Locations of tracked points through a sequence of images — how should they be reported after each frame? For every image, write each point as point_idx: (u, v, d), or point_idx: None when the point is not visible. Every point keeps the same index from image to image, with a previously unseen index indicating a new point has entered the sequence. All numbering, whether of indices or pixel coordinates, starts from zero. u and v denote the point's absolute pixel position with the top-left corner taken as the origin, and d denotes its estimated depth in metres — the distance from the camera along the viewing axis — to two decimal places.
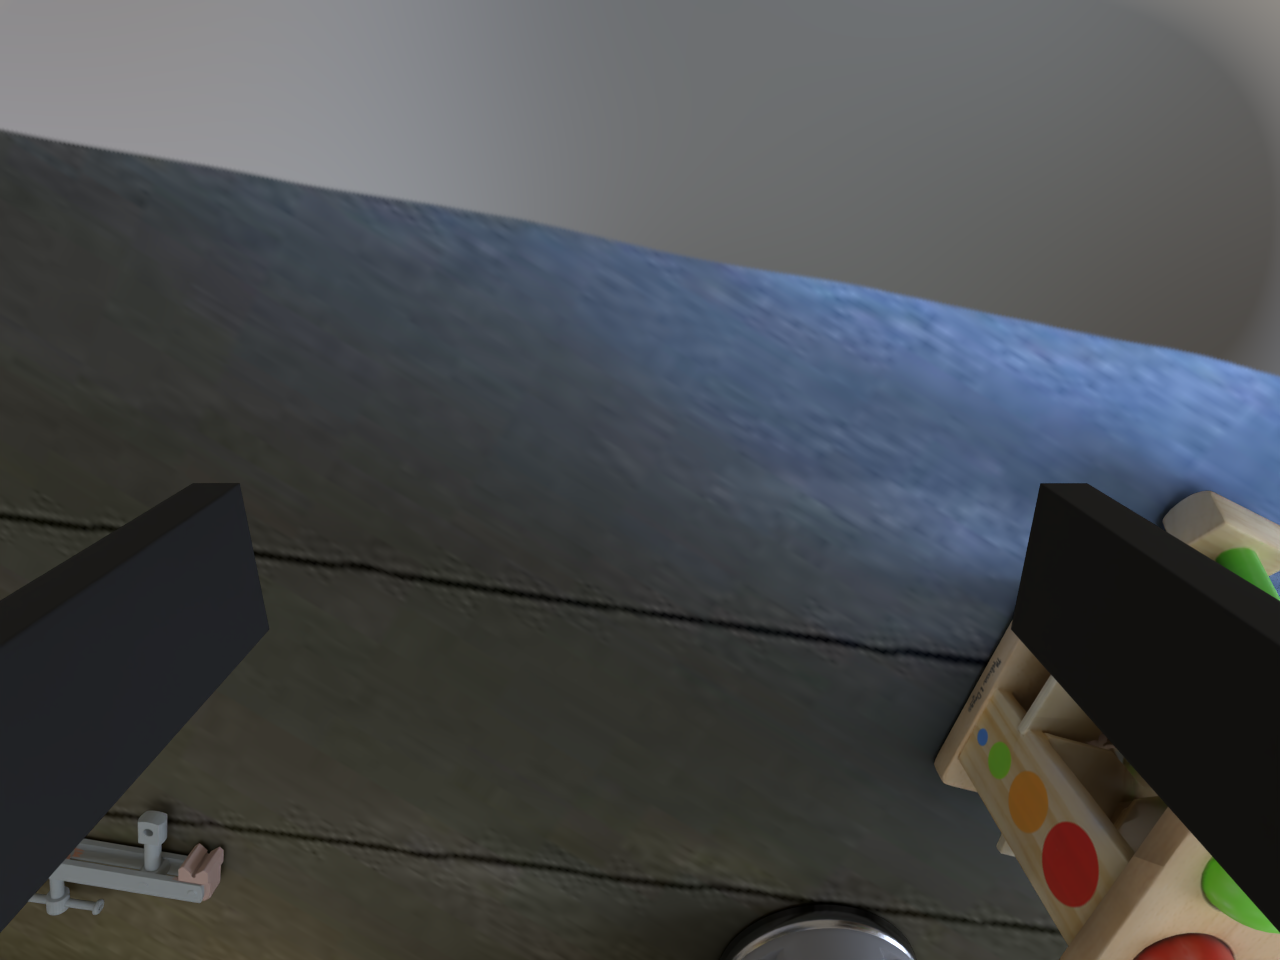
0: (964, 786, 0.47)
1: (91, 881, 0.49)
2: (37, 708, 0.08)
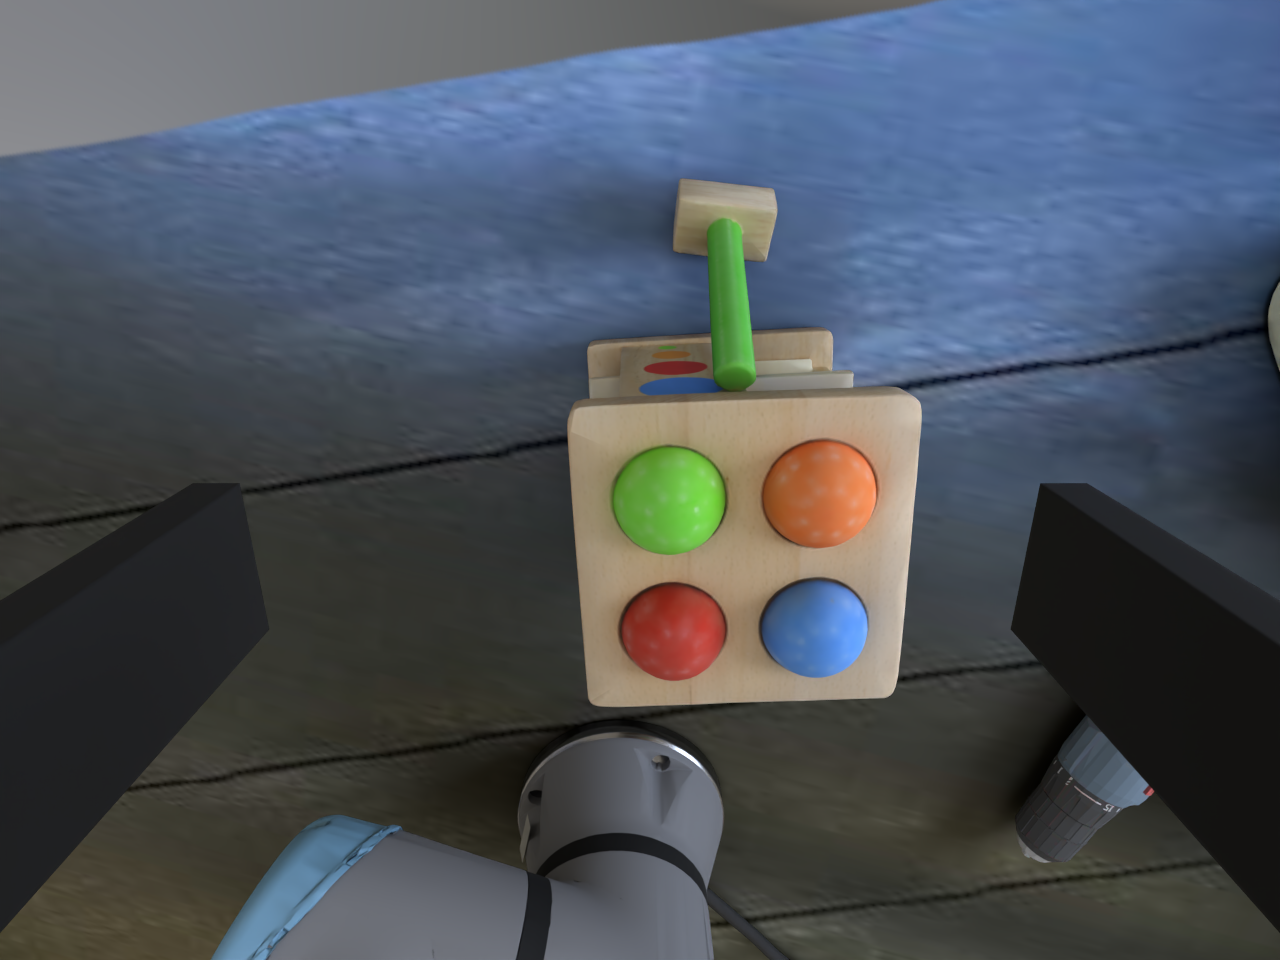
0: None
1: None
2: (37, 708, 0.08)
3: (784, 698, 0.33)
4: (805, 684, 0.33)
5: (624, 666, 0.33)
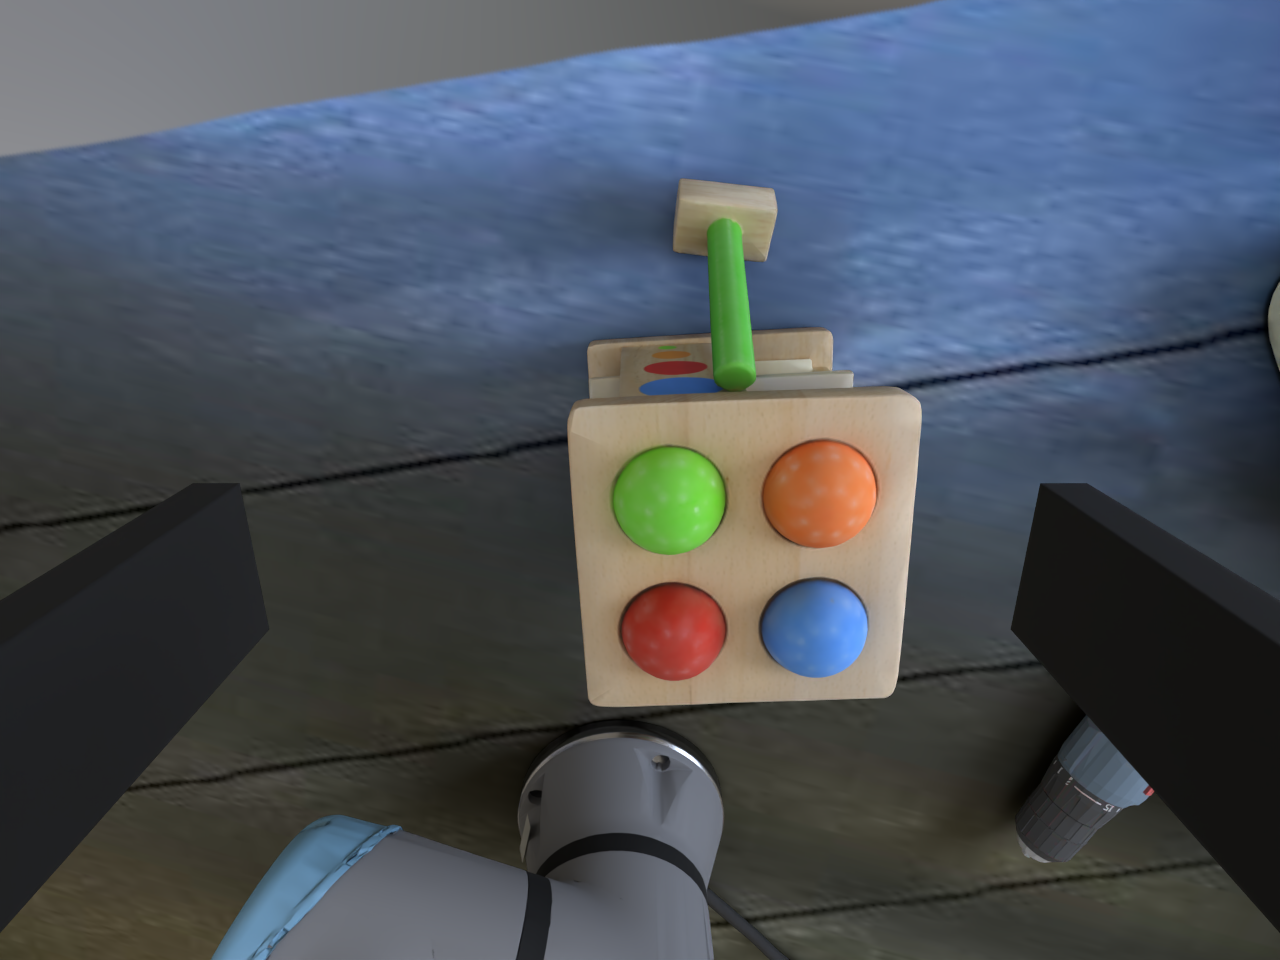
0: None
1: None
2: (37, 708, 0.08)
3: (784, 698, 0.33)
4: (805, 684, 0.33)
5: (624, 666, 0.33)
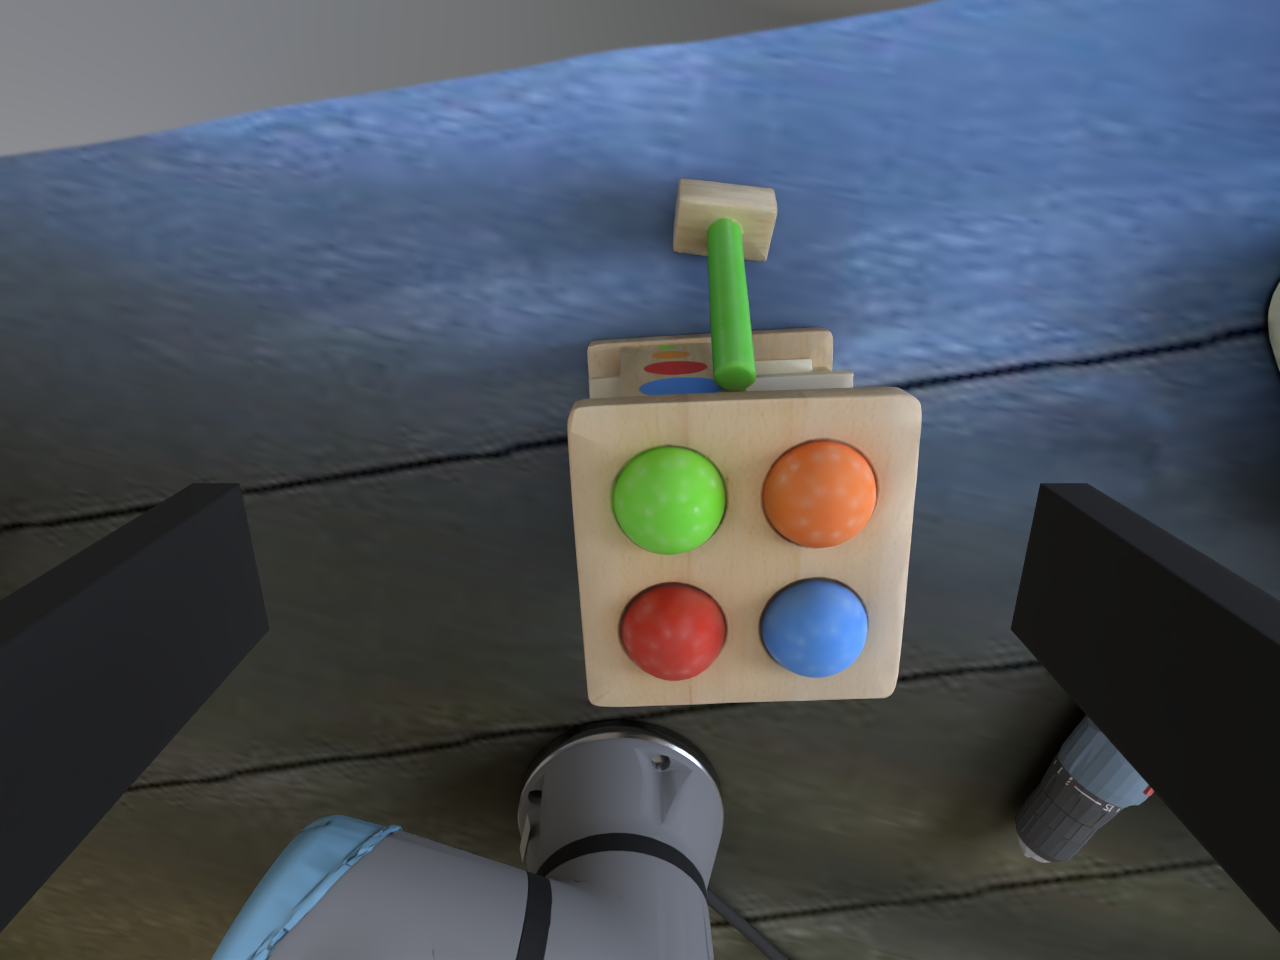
0: None
1: None
2: (37, 708, 0.08)
3: (784, 698, 0.33)
4: (805, 684, 0.33)
5: (624, 666, 0.33)
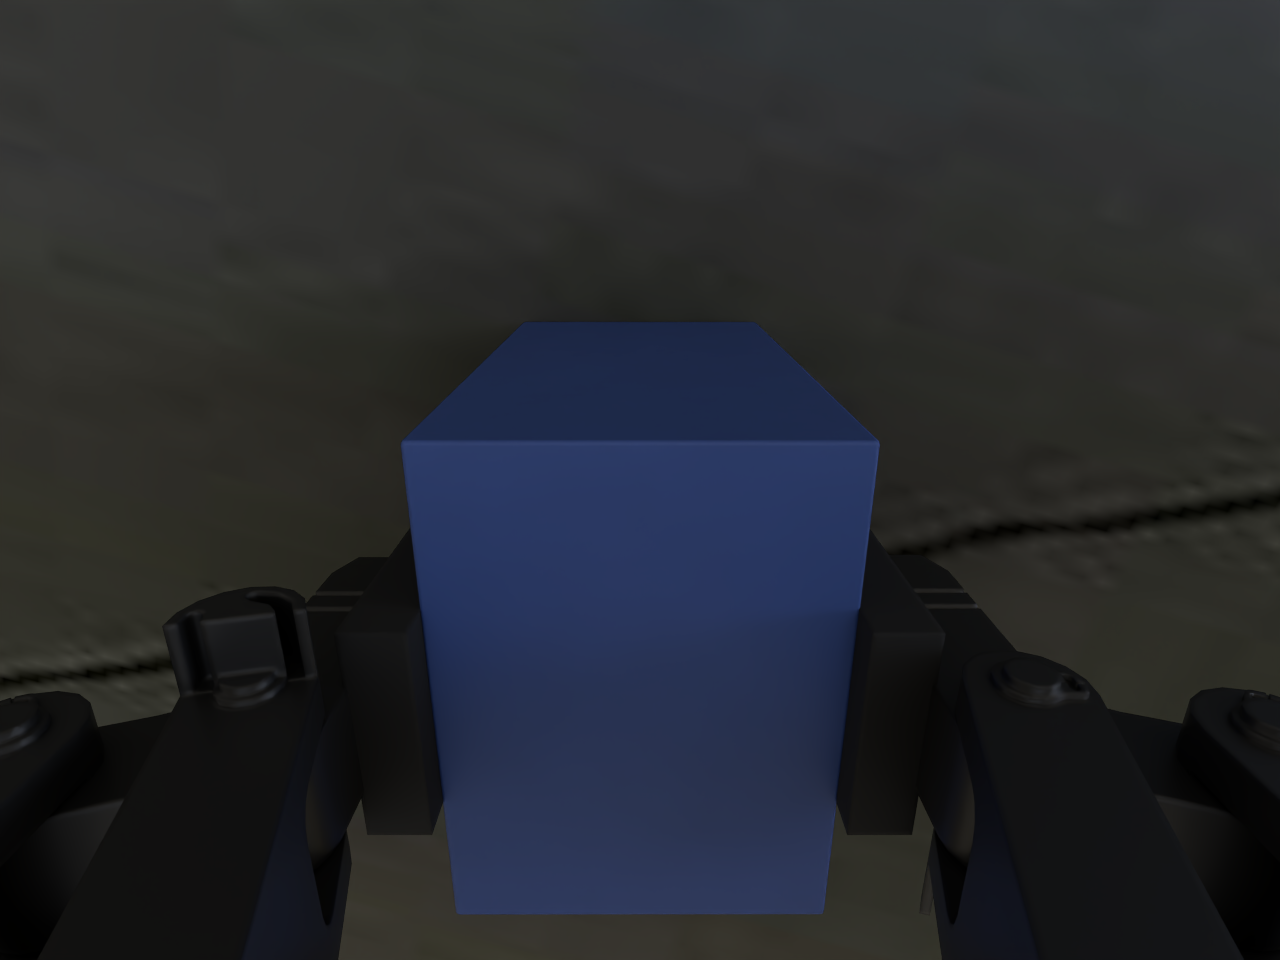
0: None
1: None
2: None
3: None
4: None
5: None
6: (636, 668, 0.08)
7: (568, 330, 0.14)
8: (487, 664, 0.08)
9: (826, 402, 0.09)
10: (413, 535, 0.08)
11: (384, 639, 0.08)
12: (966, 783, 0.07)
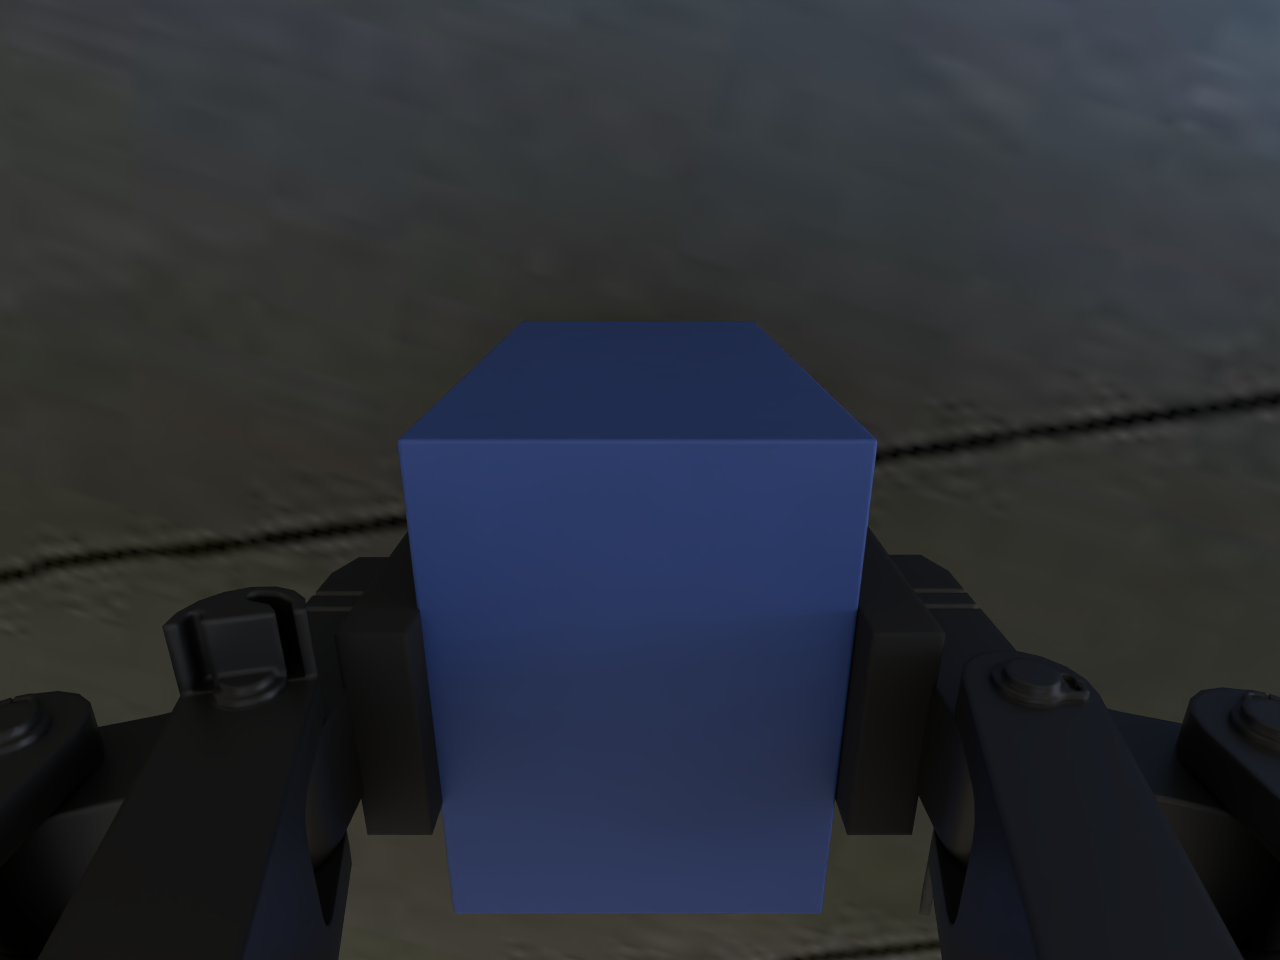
0: None
1: None
2: None
3: None
4: None
5: None
6: (633, 666, 0.08)
7: (566, 329, 0.14)
8: (485, 664, 0.08)
9: (824, 401, 0.09)
10: (410, 535, 0.08)
11: (384, 639, 0.08)
12: (966, 783, 0.07)
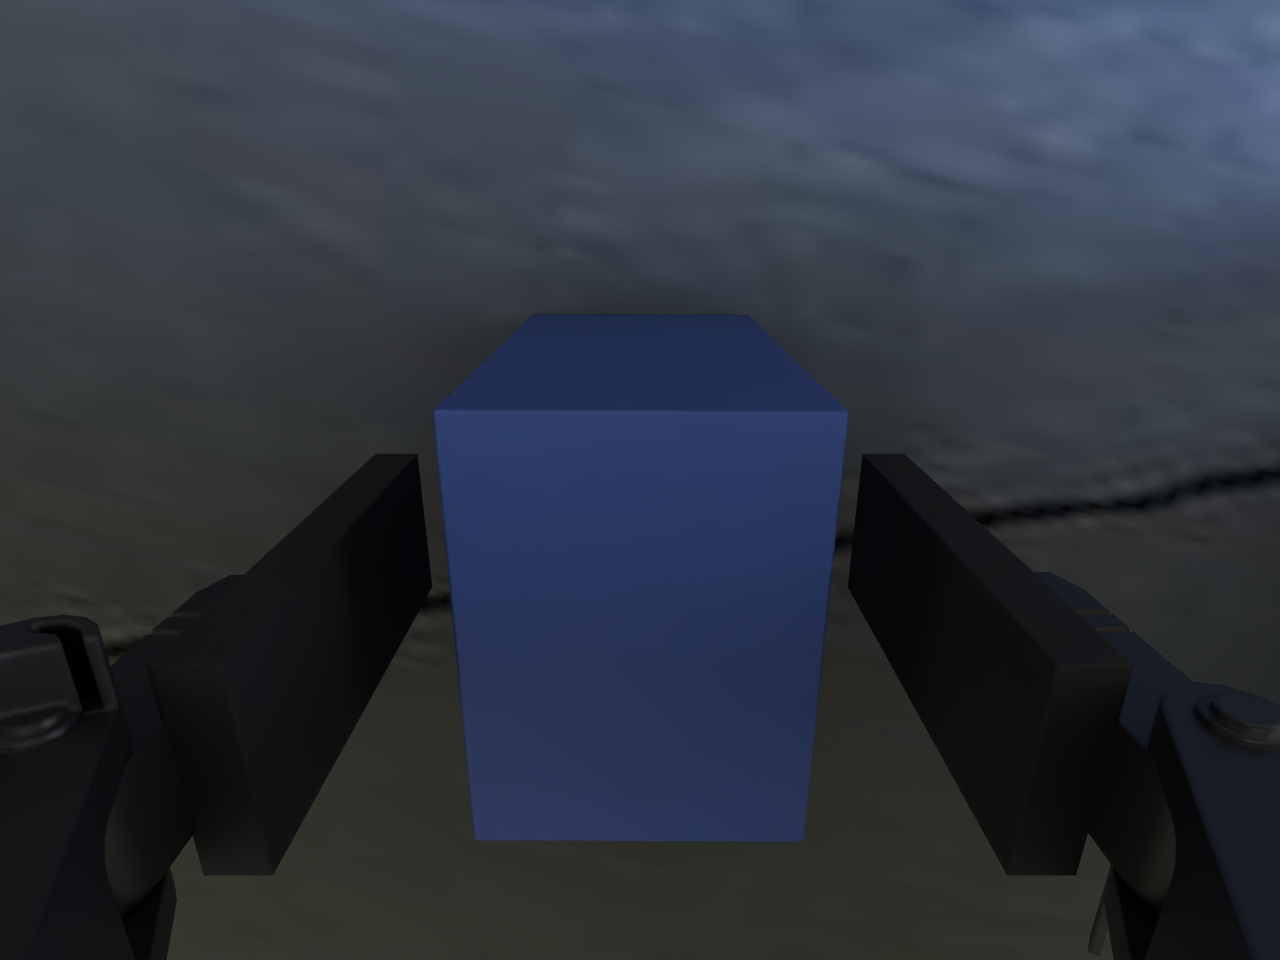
0: None
1: None
2: (321, 631, 0.09)
3: None
4: None
5: None
6: (636, 613, 0.09)
7: (574, 321, 0.15)
8: (506, 609, 0.09)
9: (806, 381, 0.10)
10: (441, 493, 0.09)
11: (202, 670, 0.07)
12: (1158, 820, 0.07)
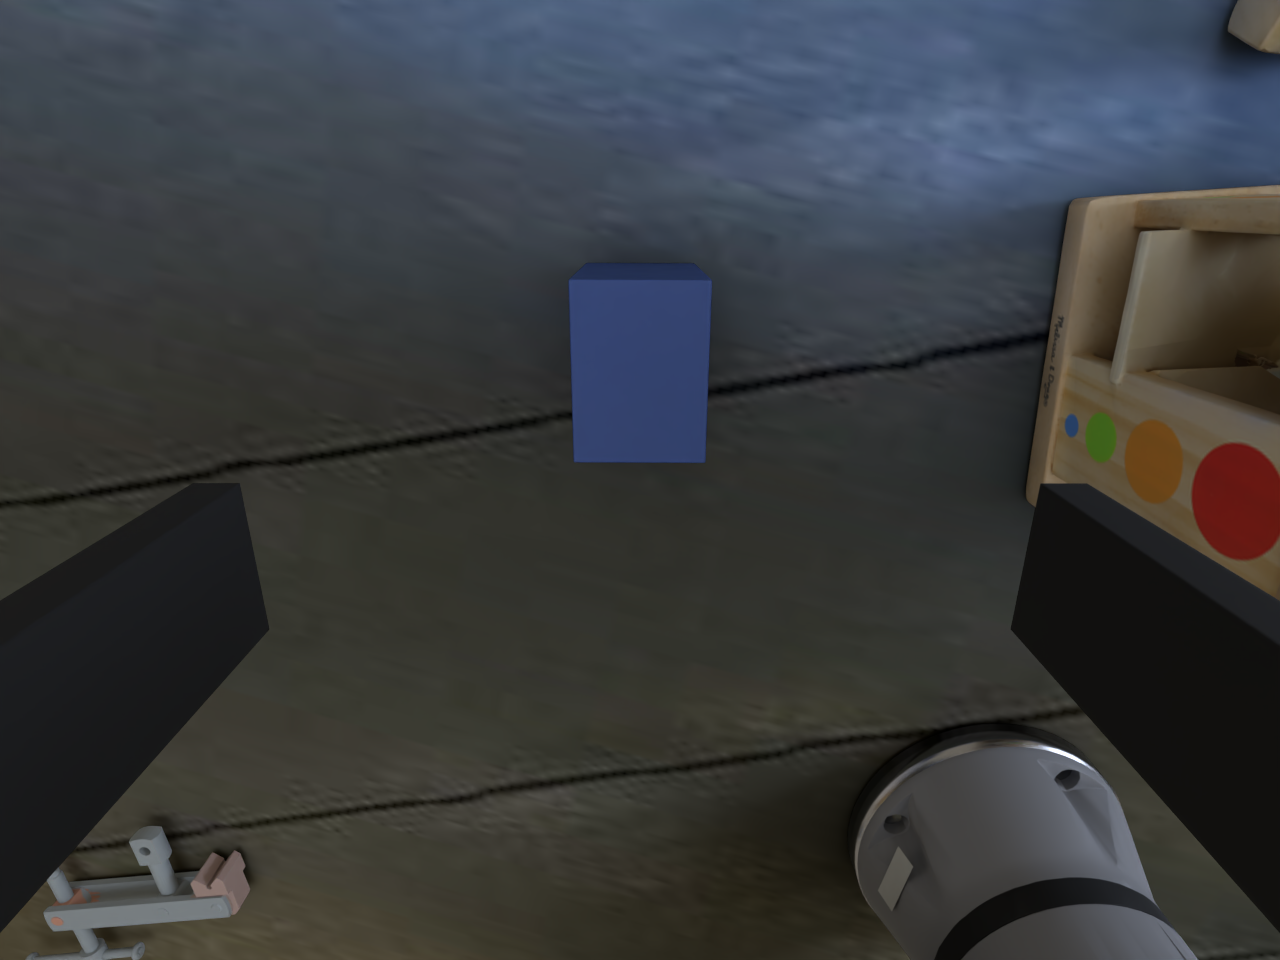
0: None
1: (110, 922, 0.43)
2: (37, 708, 0.08)
3: None
4: None
5: None
6: (638, 358, 0.26)
7: (608, 264, 0.31)
8: (590, 357, 0.25)
9: (703, 276, 0.26)
10: (569, 311, 0.25)
11: None
12: None
